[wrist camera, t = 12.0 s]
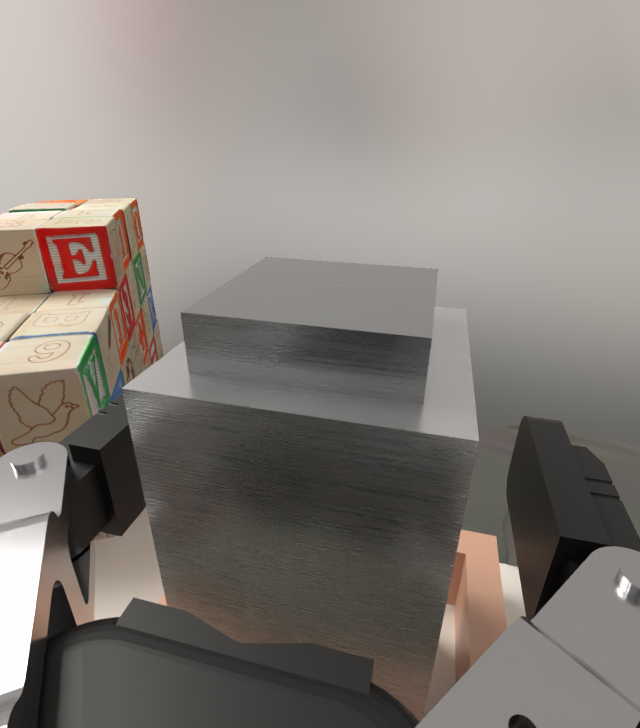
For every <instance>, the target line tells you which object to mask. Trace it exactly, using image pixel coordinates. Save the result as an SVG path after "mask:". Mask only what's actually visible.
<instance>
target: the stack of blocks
mask: <svg viewBox="0 0 640 728" xmlns="http://www.w3.org/2000/svg"><path fill="white" fill-rule="evenodd" d="M162 357H163V349H162V344H161V339H160V332H159V325H158V320H157V319H156V313H155V307H154V303H153V297H152V290H151V283H150V274H149V268H148V261H147V255H146V250H145V245H144V242H143V233H142V227H141V221H140V216H139V210H138V203H137V200H136V198H122V199H91V200H59V201H40V202H37V203H35V204H23V205H20V206H17V207H15V208H12V209H9V213H3V214H1V215H0V457H2V456H3V455H5V454H6V453H8V452H10V451H12V450H14V449H17V448H19V447H22V446H25V445H29V444H33V443H40V442H53V443H59V442H60V441H62V440H63V439H64V438H66V437H67V436H68V435H69V434H71V433H72V432H73V431H75V430H76V429H77V428H78V427H80V426H81V425H82V424H84V423H85V422H86V421H87V420H89V419H90V418H91V417H93V416H94V415H95V414H99V411H100V410H102V409H103V408H104V407H105V406H107V405H108V404H109V405H111V402H112V401H113V400H114V399H116V398H117V397H118V396H120V395H121V394H122V389H121V388H122V387H124V386H125V385H126V384H128V383H129V382H130V381H132V380H133V379H134V378H136V377H137V376H138V375H140V374H141V373H142V372H144V371H145V370H146V369H147V368H149V367H150V366H151V365H153V364H154V363H155V362H157V361H158V360H159V359H161V358H162ZM115 536H116V535H112V534H108V533H103V532H99V533H98V535H97V536H96V537H95V538H94V539H93V542H94V541H95V540H99V539H105V538H111V537H115Z"/></svg>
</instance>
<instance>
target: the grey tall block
mask: <svg viewBox="0 0 640 728" xmlns="http://www.w3.org/2000/svg"><path fill="white" fill-rule="evenodd" d="M437 273H438V269H425V268H412V267H398V266H384V265H370V264H356V263H342V262H328V261H314V260H313V261H312V260H298V259H286V258H272V257H266V258H264V259H263V260H261V261H260V262H258V263H256V264H255V265H253V266H252V267H250V268H249V269H247V270H245V271H244V272H242V273H241V274H239V275H238V276H236V277H235V278H233V279H231V280H230V281H228V282H227V283H225V284H224V285H222V286H221V287H219V288H217V289H216V290H214V291H213V292H211V293H210V294H208V295H207V296H205V297H203V298H202V299H200V300H199V301H197V302H196V303H194V304H193V305H191V306H190V307H188V308H186V309H185V310H183V311H182V312H181V319H182V326H183V334H184V341H183V342H182V343H180V344H179V345H178V346H176V347H175V348H174V349H172V350H171V351H170V352H169V353H167V354H166V355H165V356H163V357H162V358H161V359H159V360H158V361H157V362H155V363H154V364H153V365H151V366H150V367H149V368H147V369H146V370H145V371H144V372H142V373H141V374H140V375H138V376H137V377H136V378H134V379H133V380H132V381H130V382H129V383H128V384H126V385H125V386H124V387H122V388H121V389H122V394H123V398H124V403H125V408H126V413H127V418H128V422H129V427H130V432H131V437H132V441H133V446H134V451H135V456H136V460H137V465H138V470H139V475H140V479H141V484H142V489H143V494H144V498H145V503H146V508H147V513H148V518H149V522H150V527H151V532H152V537H153V541H154V546H155V551H156V556H157V560H158V565H159V570H160V575H161V579H162V584H163V589H164V594H165V598H166V603H167V606H169V607H173V608H177V609H180V610H184V611H188V612H189V613H191V614H193V615H194V616H196V617H197V618H199V619H201V620H202V621H204V622H206V623H207V624H209V625H210V626H212V627H214V628H215V629H217V630H219V631H220V632H222V633H223V634H225V635H227V636H228V637H230V638H231V639H233V640H235V641H237V642H240V643H312V644H315V645H319V646H323V647H327V648H331V649H335V650H339V651H342V652H346V653H350V654H354V655H358V656H362V657H366V658H369V659H373V660H374V664H373V674H372V683H374V684H375V685H377V686H379V687H380V688H382V689H384V690H385V691H387V692H388V693H389V694H391V695H392V696H393V697H395V698H396V699H397V700H399V701H400V702H401V703H402V704H403V705H404V706H405V707H406V708H407V709H408V710H409V711H410V712H411V713H412V714H413V715H414V716H415V717H416V718H417V719H418V720H419V722H421V721H422V719H423V718H424V713H425V708H426V703H427V698H428V693H429V688H430V683H431V678H432V673H433V668H434V663H435V658H436V653H437V648H438V643H439V638H440V633H441V628H442V623H443V618H444V613H445V608H446V603H447V598H448V593H449V588H450V583H451V578H452V573H453V568H454V563H455V558H456V553H457V548H458V543H459V538H460V533H461V528H462V523H463V518H464V513H465V508H466V503H467V498H468V493H469V488H470V483H471V478H472V473H473V468H474V463H475V458H476V453H477V448H478V443H479V437H478V427H477V417H476V407H475V397H474V387H473V378H472V368H471V357H470V347H469V337H468V328H467V318H466V309H459V308H447V307H436V306H435V296H436V284H437Z"/></svg>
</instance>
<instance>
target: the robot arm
mask: <svg viewBox="0 0 640 728" xmlns="http://www.w3.org/2000/svg"><path fill="white" fill-rule="evenodd" d="M507 502H508V508H509V514H510V521H511V527H512V533H513V539H514V545H515V552H516V558H517V564H518V570H519V576H520V583H521V589H522V595H523V601H524V607H525V614H526V617H525V616H521V617H519V618H518V619H516V620H515V621H514V622H513V623H512V624H511V625H510V626H509V627H508V628H507V629H506V630H505V631H504V632H503V633H502V634H501V635H500V637H499V638H498V639H497V640H496V641H495V642H494V643H493V644H492V645H491V646H490V647H489V648H488V649H487V651H486V652H485V653H484V654H483V655H482V656H481V657H480V658H479V659H478V660H477V661H476V662H475V663H474V665H473V666H472V667H471V668H470V669H469V670H468V671H467V672H466V673H465V674H464V675H463V676H462V677H461V679H460V680H459V681H458V682H457V683H456V684H455V685H454V686H453V687H452V688H451V689H450V690H449V691H448V693H447V694H446V695H445V696H444V697H443V698H442V699H441V700H440V701H439V702H438V703H437V704H436V705H435V707H434V708H433V709H432V710H431V711H430V712H429V713H428V714H427V715H426V716H425V717H424V718H423V719H422V721H421V722H419V720H418V719H417V718H416V717H415V716H414V715H413V714H412V713H411V712H410V711H409V710H408V709H407V708H406V707H405V706H404V705H403V704H402V703H401V702H400V701H399V700H397V699H396V698H395V697H393V696H392V695H391V694H389V693H388V692H387V691H385V690H384V689H382V688H380V687H379V686H377V685H375V684H374V683H372V674H373V664H374V660H373V659H369V658H366V657H362V656H358V655H354V654H350V653H346V652H342V651H339V650H335V649H331V648H327V647H323V646H319V645H315V644H312V643H240V642H237V641H235V640H233V639H231V638H230V637H228V636H227V635H225V634H223V633H222V632H220V631H219V630H217V629H215V628H214V627H212V626H210V625H209V624H207V623H206V622H204V621H202V620H201V619H199V618H197V617H196V616H194V615H193V614H191V613H189V612H188V611H184V610H180V609H177V608H173V607H169V606H165V605H161V604H157V603H153V602H150V601H146V600H142V599H138V598H134V597H133V599H132V600H131V602H130V603H129V605H128V606H127V607H126V609H125V610H124V612H123V613H122V615H121V616H120V617H113V618H106V619H99V620H95V621H94V603H95V552H96V551H95V545H94V542H93V539H94V538H95V537H96V536H97V535H98V533H99V532H103V533H108V534H112V535H116V536H122V535H123V534H124V533H125V532H126V530H127V529H128V528H129V527H130V526H131V524H132V523H133V522H134V521H135V520H136V518H137V517H138V516H139V515H140V513H141V512H142V511H143V510H144V509H145V507H146V503H145V498H144V494H143V489H142V484H141V479H140V475H139V470H138V465H137V460H136V456H135V451H134V446H133V441H132V437H131V432H130V427H129V422H128V418H127V413H126V408H125V403H124V398H123V394H121V395H120V396H118V397H117V398H116V399H114V400H113V401H112V402H111V405H109V404H108V405H107V406H105V407H104V408H103V409H102V410H100V411H99V414H95V415H94V416H93V417H91V418H90V419H89V420H87V421H86V422H85V423H84V424H82V425H81V426H80V427H78V428H77V429H76V430H75V431H73V432H72V433H71V434H69V435H68V436H67V437H66V438H64V439H63V440H62V441H60V442H59V443H53V442H40V443H33V444H29V445H25V446H22V447H19V448H17V449H14V450H12V451H10V452H8V453H6V454H5V455H3V456H2V457H0V728H640V538H639V536H638V534H637V532H636V530H635V528H634V526H633V524H632V522H631V520H630V518H629V515H628V513H627V511H626V509H625V507H624V505H623V503H622V501H620V500H619V494H618V492H617V490H616V488H615V486H614V485H612V480H611V478H610V476H609V474H608V471H607V469H606V467H605V465H604V464H603V463H602V462H601V461H600V460H599V459H598V458H597V457H596V456H595V455H594V454H593V453H592V452H591V451H589V450H588V449H587V448H586V447H581V446H574V445H571V443H570V441H569V438H568V436H567V433H566V431H565V428H564V426H563V423H562V422H561V421H558V420H551V419H543V418H535V417H528V416H524V417H523V418H522V420H521V423H520V426H519V431H518V435H517V439H516V443H515V447H514V451H513V455H512V459H511V463H510V467H509V472H508V478H507Z"/></svg>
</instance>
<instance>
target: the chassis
mask: <svg viewBox="0 0 640 728" xmlns="http://www.w3.org/2000/svg"><path fill="white" fill-rule="evenodd" d="M503 532H504V539H505V546H506V554H507V561H508V565H507V564H502V563H499V557H498V548H497V540H496V536H492V535H487V534H481V533H476V532H471V531H466V530H461V533H460V538H459V543H458V548H457V553H456V558H455V563H454V568H453V573H452V578H451V583H450V588H449V593H448V598H447V603H446V608H445V613H444V618H443V623H442V628H441V633H440V638H439V643H438V648H437V653H436V658H435V663H434V668H433V673H432V678H431V683H430V688H429V693H428V698H427V703H426V708H425V713H424V717H425V716H426V715H427V714H428V713H429V712H430V711H431V710H432V709H433V708H434V707H435V705H436V704H437V703H438V702H439V701H440V700H441V699H442V698H443V697H444V696H445V695H446V694H447V693H448V691H449V690H450V689H451V688H452V687H453V686H454V685H455V684H456V683H457V682H458V681H459V680H460V679H461V677H462V676H463V675H464V674H465V673H466V672H467V671H468V670H469V669H470V668H471V667H472V666H473V665H474V663H475V662H476V661H477V660H478V659H479V658H480V657H481V656H482V655H483V654H484V653H485V652H486V651H487V649H488V648H489V647H490V646H491V645H492V644H493V643H494V642H495V641H496V640H497V639H498V638H499V637H500V635H501V634H502V633H503V632H504V631H505V630H506V629H507V628H508V627H509V626H510V625H511V624H512V623H513V622H514V621H515V620H516V619H518V618H519V617H521V616H525V617H526V614H525V607H524V601H523V595H522V589H521V583H520V576H519V570H518V564H517V558H516V552H515V545H514V539H513V533H512V527H511V521H510V514H509V510H508V512H507V513H506V515H505V518H504V521H503ZM94 545H95V551H96V552H95V603H94V621H95V620H99V619H106V618H113V617H120V616H121V615H122V613H123V612H124V610H125V609H126V607H127V606H128V605H129V603H130V602H131V600H132V599H133V597H134V598H138V599H142V600H146V601H150V602H153V603H157V604H161V605H165V606H167V603H166V598H165V594H164V589H163V584H162V579H161V575H160V570H159V565H158V560H157V556H156V551H155V546H154V541H153V537H152V532H151V527H150V522H149V518H148V513H147V508H146V507H145V509H144V510H143V511H142V512H141V513H140V515H139V516H138V517H137V518H136V520H135V521H134V522H133V523H132V524H131V526H130V527H129V528H128V529H127V530H126V532H125V533H124V534H123V535H122V536H115V537H111V538H105V539H99V540H95V541H94Z"/></svg>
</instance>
